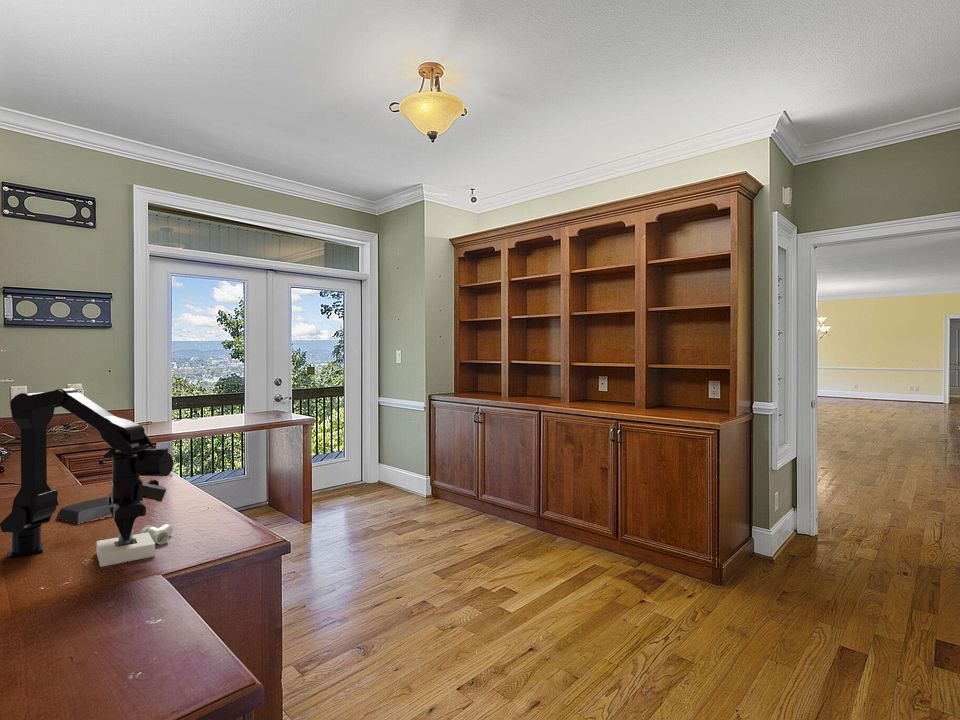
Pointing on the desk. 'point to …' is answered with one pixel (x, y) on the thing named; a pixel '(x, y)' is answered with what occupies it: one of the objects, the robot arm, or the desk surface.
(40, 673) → the desk surface
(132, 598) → the desk surface
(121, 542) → the metal peg
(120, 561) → the hole block
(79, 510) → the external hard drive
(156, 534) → the pipe fitting
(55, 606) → the desk surface
